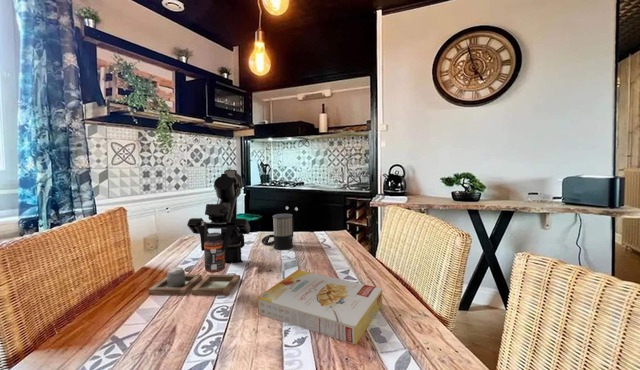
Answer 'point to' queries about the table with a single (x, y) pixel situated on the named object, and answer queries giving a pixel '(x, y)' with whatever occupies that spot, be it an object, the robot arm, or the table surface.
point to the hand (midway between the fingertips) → (212, 250)
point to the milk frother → (281, 232)
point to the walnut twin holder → (199, 285)
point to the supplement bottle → (214, 253)
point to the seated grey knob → (176, 277)
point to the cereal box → (322, 304)
